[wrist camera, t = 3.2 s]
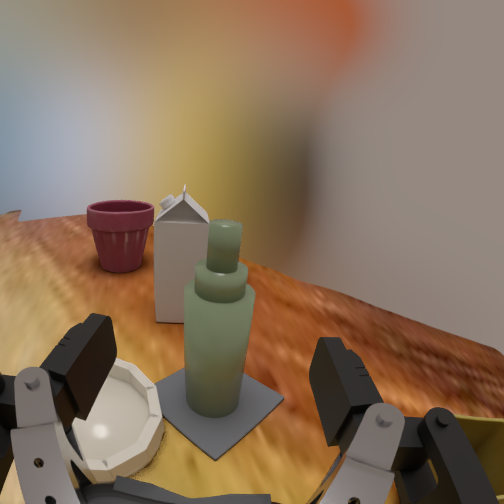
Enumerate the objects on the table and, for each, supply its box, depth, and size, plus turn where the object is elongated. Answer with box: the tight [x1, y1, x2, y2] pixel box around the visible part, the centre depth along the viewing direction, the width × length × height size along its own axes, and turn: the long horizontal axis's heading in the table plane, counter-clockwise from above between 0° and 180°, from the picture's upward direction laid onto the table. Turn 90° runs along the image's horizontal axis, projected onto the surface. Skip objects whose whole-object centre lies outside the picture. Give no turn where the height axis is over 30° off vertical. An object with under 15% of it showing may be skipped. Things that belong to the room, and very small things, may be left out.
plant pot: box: [87, 200, 154, 273], centre depth 52 cm, size 14×14×13 cm
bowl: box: [72, 358, 165, 483], centre depth 19 cm, size 14×14×3 cm
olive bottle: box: [184, 219, 255, 418], centre depth 23 cm, size 6×6×18 cm
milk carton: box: [154, 185, 209, 323], centre depth 39 cm, size 7×7×19 cm
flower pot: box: [428, 414, 504, 504], centre depth 11 cm, size 9×9×9 cm
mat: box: [154, 367, 284, 461], centre depth 26 cm, size 11×11×1 cm
